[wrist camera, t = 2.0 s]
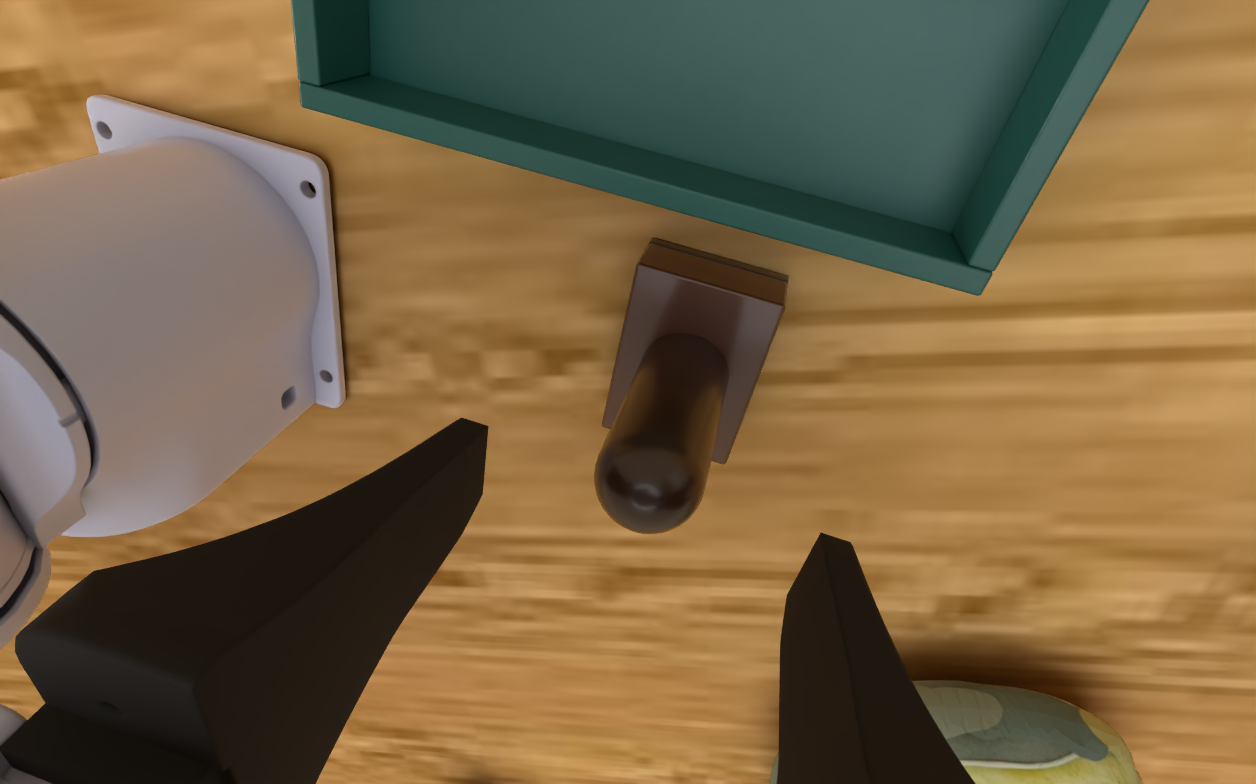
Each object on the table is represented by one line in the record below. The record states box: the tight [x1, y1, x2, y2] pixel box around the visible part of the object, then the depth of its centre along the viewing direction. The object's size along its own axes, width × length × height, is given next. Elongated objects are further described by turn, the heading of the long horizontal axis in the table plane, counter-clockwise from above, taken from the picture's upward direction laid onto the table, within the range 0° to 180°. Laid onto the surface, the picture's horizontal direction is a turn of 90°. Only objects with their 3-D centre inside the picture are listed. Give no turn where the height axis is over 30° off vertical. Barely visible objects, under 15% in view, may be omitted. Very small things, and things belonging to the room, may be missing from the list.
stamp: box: [594, 238, 788, 534], centre depth 17 cm, size 6×4×8 cm
